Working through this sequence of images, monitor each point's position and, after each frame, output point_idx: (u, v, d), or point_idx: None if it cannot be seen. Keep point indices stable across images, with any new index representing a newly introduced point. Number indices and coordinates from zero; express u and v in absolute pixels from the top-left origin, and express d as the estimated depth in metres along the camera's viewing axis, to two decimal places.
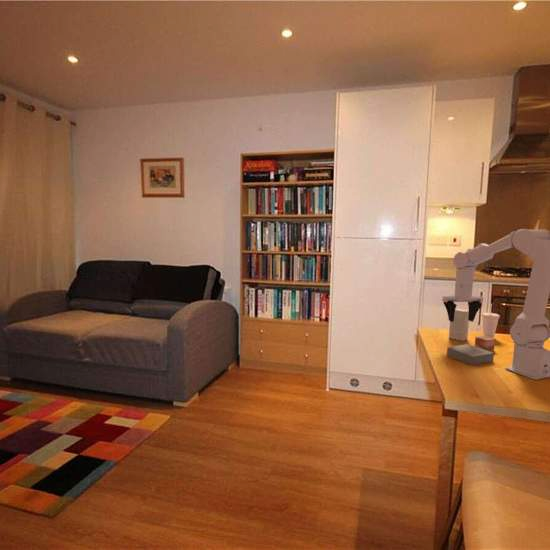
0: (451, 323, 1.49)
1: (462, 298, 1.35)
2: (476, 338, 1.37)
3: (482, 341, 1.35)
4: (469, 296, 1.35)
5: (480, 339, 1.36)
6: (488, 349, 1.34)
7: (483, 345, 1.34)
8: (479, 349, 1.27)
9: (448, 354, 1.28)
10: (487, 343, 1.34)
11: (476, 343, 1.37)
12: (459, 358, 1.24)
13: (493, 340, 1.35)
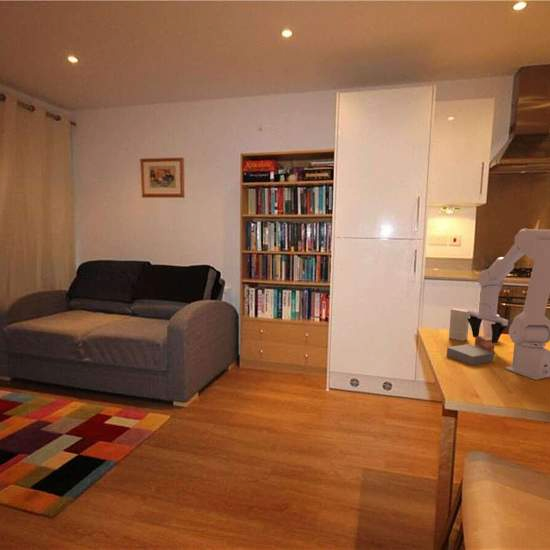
0: (451, 323, 1.49)
1: (478, 315, 1.36)
2: (476, 338, 1.37)
3: (482, 341, 1.35)
4: (484, 314, 1.33)
5: (480, 339, 1.36)
6: (488, 349, 1.34)
7: (483, 345, 1.34)
8: (479, 349, 1.27)
9: (448, 354, 1.28)
10: (487, 343, 1.34)
11: (476, 343, 1.37)
12: (459, 358, 1.24)
13: None
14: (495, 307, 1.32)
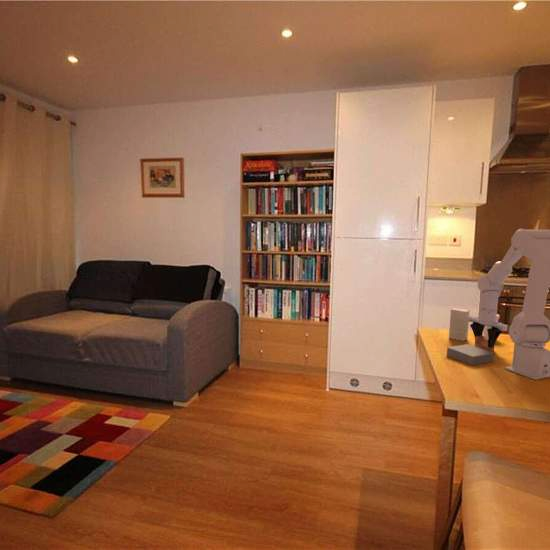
0: (451, 323, 1.49)
1: (477, 320, 1.36)
2: (476, 338, 1.37)
3: (482, 341, 1.35)
4: (484, 320, 1.33)
5: (480, 339, 1.36)
6: (488, 349, 1.34)
7: (483, 345, 1.34)
8: (479, 349, 1.27)
9: (448, 354, 1.28)
10: (487, 343, 1.34)
11: (476, 342, 1.37)
12: (459, 358, 1.24)
13: None
14: (494, 312, 1.32)
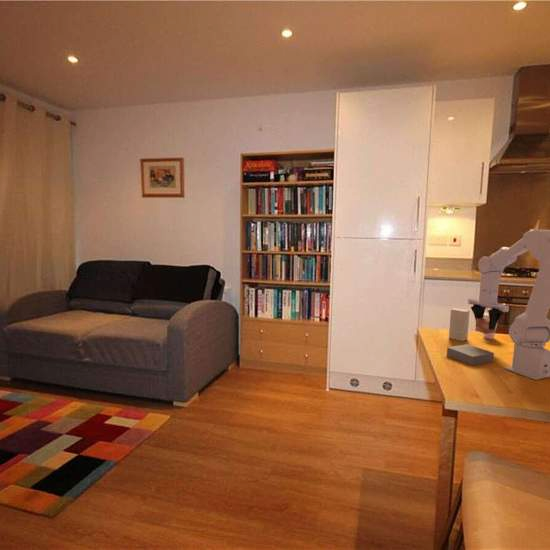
0: (451, 323, 1.49)
1: (478, 302, 1.34)
2: (477, 320, 1.35)
3: (483, 323, 1.33)
4: (484, 301, 1.32)
5: (481, 321, 1.34)
6: (489, 331, 1.33)
7: (484, 327, 1.33)
8: (479, 349, 1.27)
9: (448, 354, 1.28)
10: (488, 325, 1.32)
11: (477, 325, 1.35)
12: (459, 358, 1.24)
13: None
14: (495, 294, 1.31)
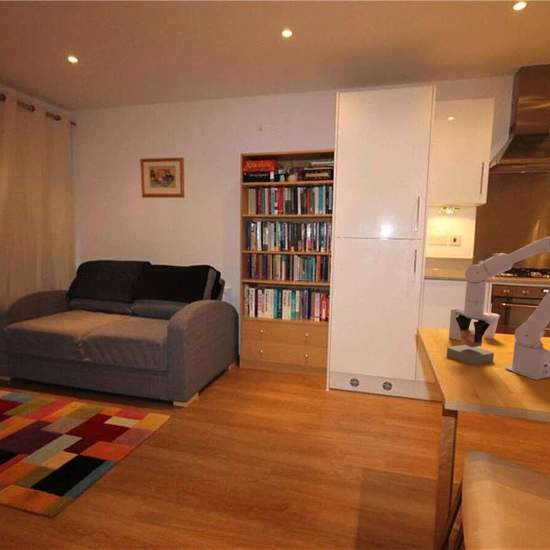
0: (451, 323, 1.49)
1: (463, 313, 1.25)
2: (462, 332, 1.26)
3: (469, 335, 1.24)
4: (470, 312, 1.23)
5: (466, 333, 1.25)
6: (475, 344, 1.24)
7: (470, 340, 1.24)
8: (479, 349, 1.27)
9: (448, 354, 1.28)
10: (474, 338, 1.23)
11: (462, 337, 1.26)
12: (459, 358, 1.24)
13: None
14: (482, 304, 1.22)
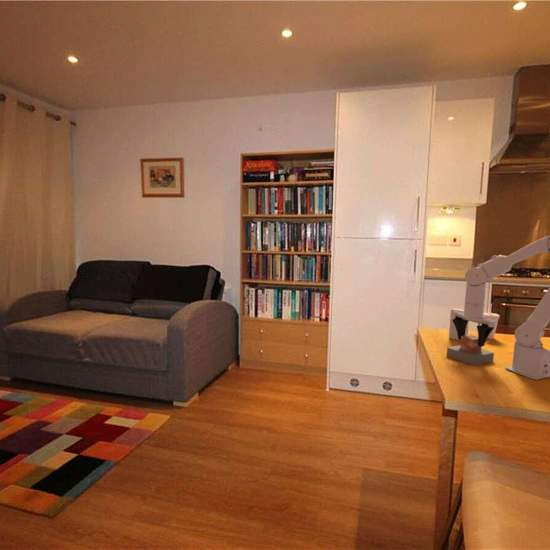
0: (451, 323, 1.49)
1: (463, 316, 1.25)
2: (462, 337, 1.26)
3: (468, 341, 1.24)
4: (470, 315, 1.23)
5: (466, 338, 1.25)
6: (474, 349, 1.24)
7: (469, 345, 1.24)
8: None
9: (448, 354, 1.28)
10: (473, 343, 1.23)
11: (462, 342, 1.27)
12: (459, 358, 1.24)
13: None
14: (481, 307, 1.22)
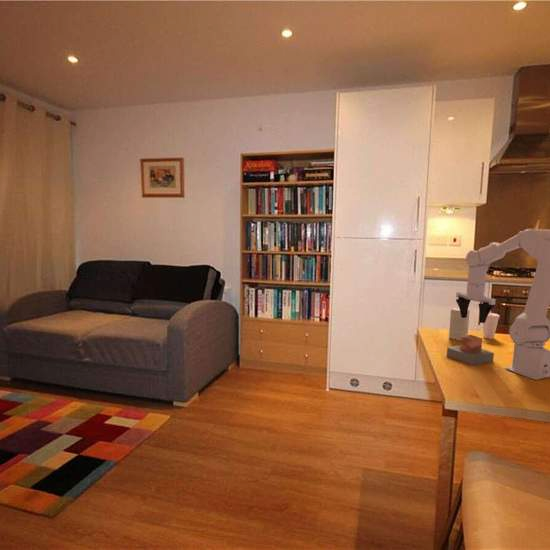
0: (451, 323, 1.49)
1: (466, 295, 1.36)
2: (462, 337, 1.26)
3: (468, 341, 1.24)
4: (472, 294, 1.34)
5: (466, 338, 1.25)
6: (474, 349, 1.24)
7: (469, 345, 1.24)
8: None
9: (448, 354, 1.28)
10: (473, 343, 1.23)
11: (462, 342, 1.27)
12: (459, 358, 1.24)
13: (480, 340, 1.24)
14: (483, 287, 1.33)
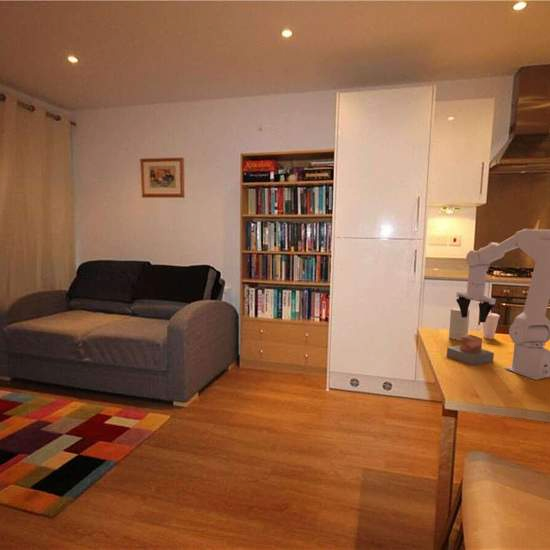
0: (451, 323, 1.49)
1: (466, 295, 1.38)
2: (462, 337, 1.26)
3: (468, 341, 1.24)
4: (472, 294, 1.35)
5: (466, 338, 1.25)
6: (474, 349, 1.24)
7: (469, 345, 1.24)
8: None
9: (448, 354, 1.28)
10: (473, 343, 1.23)
11: (462, 342, 1.27)
12: (459, 358, 1.24)
13: (480, 340, 1.24)
14: (483, 287, 1.34)
